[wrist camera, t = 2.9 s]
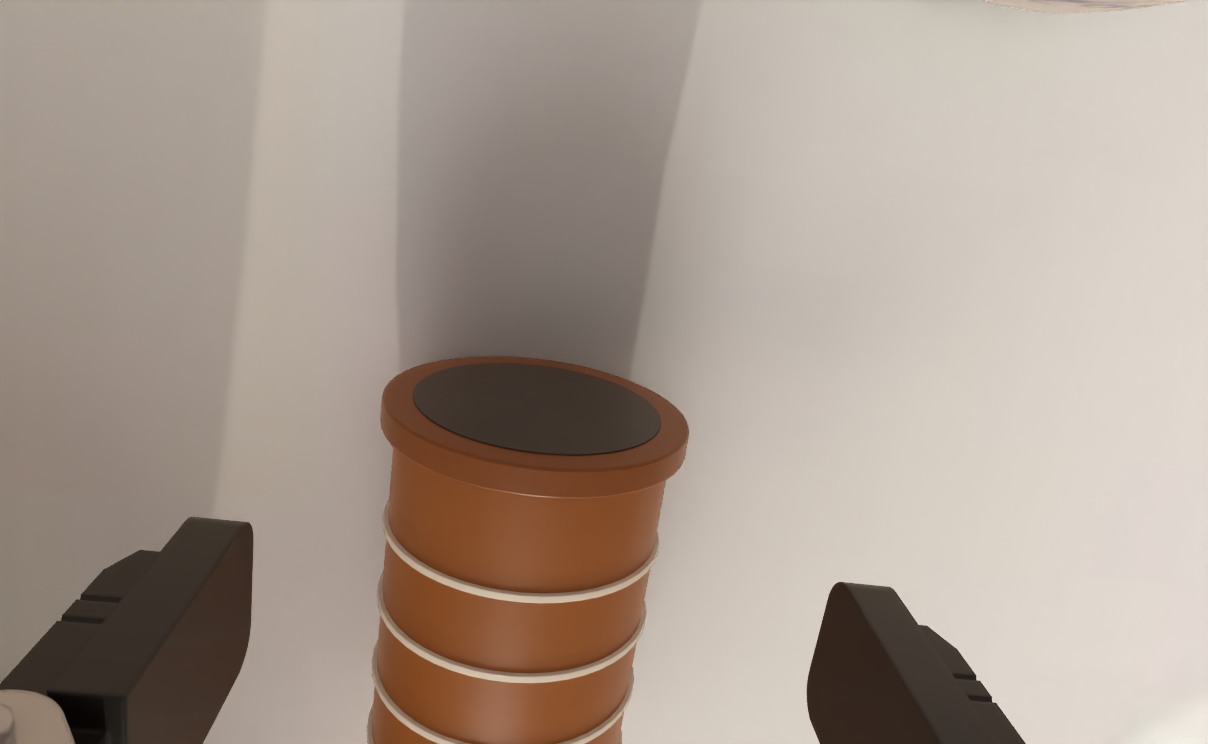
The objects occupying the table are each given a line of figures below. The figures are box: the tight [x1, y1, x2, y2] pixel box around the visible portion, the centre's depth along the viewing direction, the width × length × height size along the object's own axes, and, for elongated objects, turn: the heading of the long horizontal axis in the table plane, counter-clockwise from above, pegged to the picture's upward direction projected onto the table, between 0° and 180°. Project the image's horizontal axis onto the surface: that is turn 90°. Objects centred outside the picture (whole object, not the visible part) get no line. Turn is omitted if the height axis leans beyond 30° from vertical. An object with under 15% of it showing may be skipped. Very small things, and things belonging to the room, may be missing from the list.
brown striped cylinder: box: [367, 357, 689, 744], centre depth 20 cm, size 10×6×6 cm, turn 172°
